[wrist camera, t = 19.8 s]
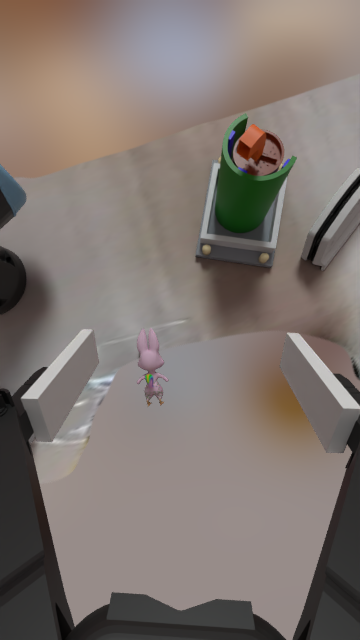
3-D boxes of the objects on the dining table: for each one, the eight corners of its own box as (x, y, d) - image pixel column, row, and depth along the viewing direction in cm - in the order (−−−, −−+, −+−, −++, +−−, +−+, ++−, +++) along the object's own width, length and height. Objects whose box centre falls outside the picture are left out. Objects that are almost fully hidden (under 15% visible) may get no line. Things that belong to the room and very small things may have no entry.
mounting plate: (195, 256, 49) (195, 250, 45) (212, 164, 50) (213, 150, 47) (270, 267, 48) (276, 262, 44) (285, 172, 49) (292, 158, 45)
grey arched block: (322, 272, 47) (333, 243, 38) (299, 261, 49) (305, 232, 40) (373, 204, 47) (397, 159, 38) (348, 196, 49) (366, 152, 40)
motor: (273, 204, 47) (326, 108, 27) (249, 242, 47) (284, 173, 27) (228, 180, 48) (248, 71, 29) (205, 217, 48) (208, 133, 28)
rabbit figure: (172, 398, 49) (164, 325, 48) (168, 412, 43) (159, 329, 42) (142, 400, 49) (133, 328, 48) (134, 414, 43) (124, 333, 42)
